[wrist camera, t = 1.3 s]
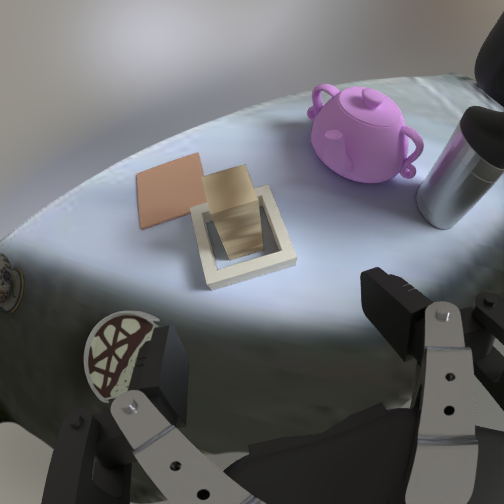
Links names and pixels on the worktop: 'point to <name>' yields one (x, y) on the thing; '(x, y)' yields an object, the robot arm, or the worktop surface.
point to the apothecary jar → (10, 285)
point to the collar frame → (251, 267)
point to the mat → (170, 190)
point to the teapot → (362, 134)
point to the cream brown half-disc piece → (115, 351)
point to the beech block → (234, 211)
